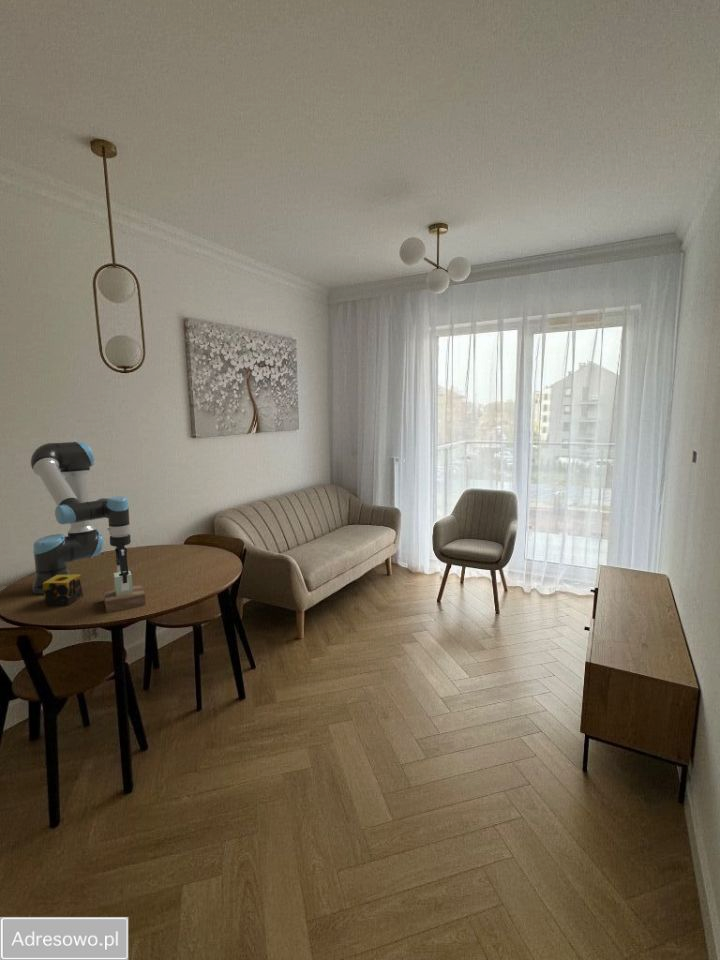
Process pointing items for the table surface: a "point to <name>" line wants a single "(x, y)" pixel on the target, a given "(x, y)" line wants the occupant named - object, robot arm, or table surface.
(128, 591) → the sage block
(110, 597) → the walnut block
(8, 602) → the table surface
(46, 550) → the robot arm
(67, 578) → the candle
